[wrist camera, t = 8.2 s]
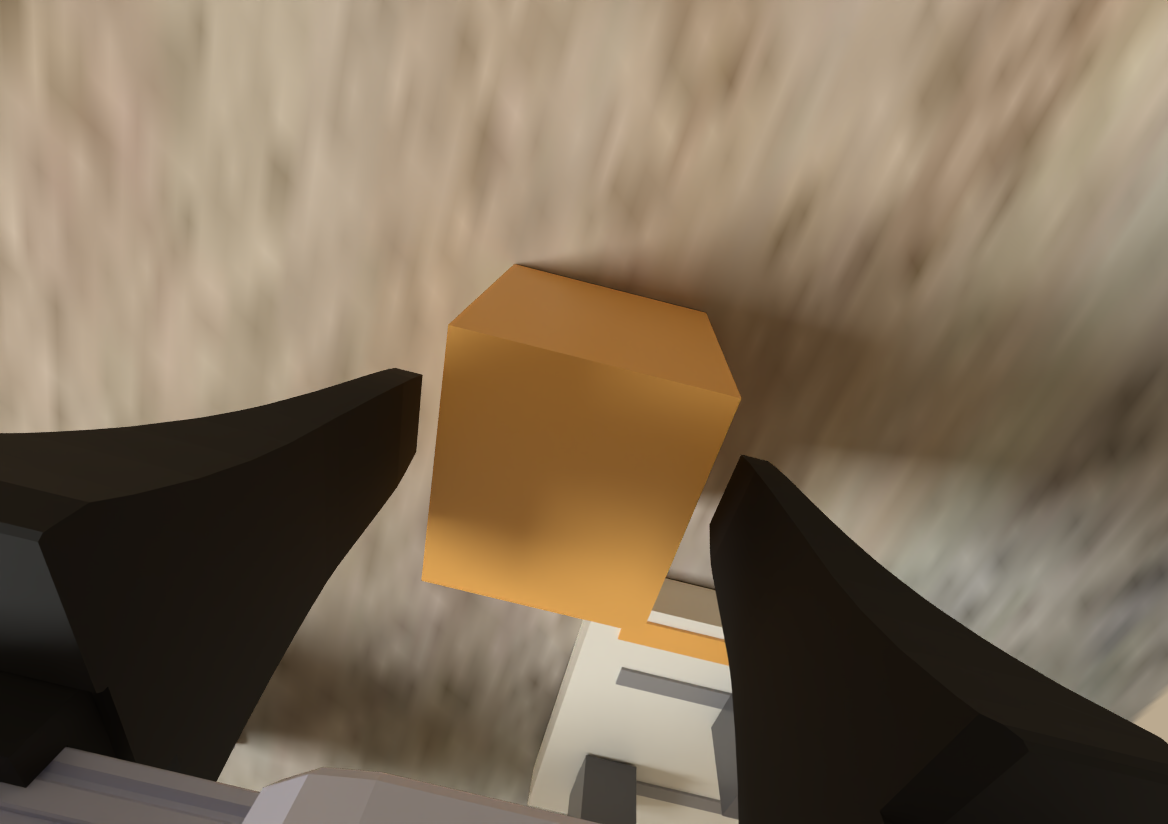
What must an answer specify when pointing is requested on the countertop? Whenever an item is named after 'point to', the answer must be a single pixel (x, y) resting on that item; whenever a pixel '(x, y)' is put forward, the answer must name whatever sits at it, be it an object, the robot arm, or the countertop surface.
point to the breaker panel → (644, 710)
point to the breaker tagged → (726, 759)
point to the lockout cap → (572, 445)
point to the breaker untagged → (604, 792)
